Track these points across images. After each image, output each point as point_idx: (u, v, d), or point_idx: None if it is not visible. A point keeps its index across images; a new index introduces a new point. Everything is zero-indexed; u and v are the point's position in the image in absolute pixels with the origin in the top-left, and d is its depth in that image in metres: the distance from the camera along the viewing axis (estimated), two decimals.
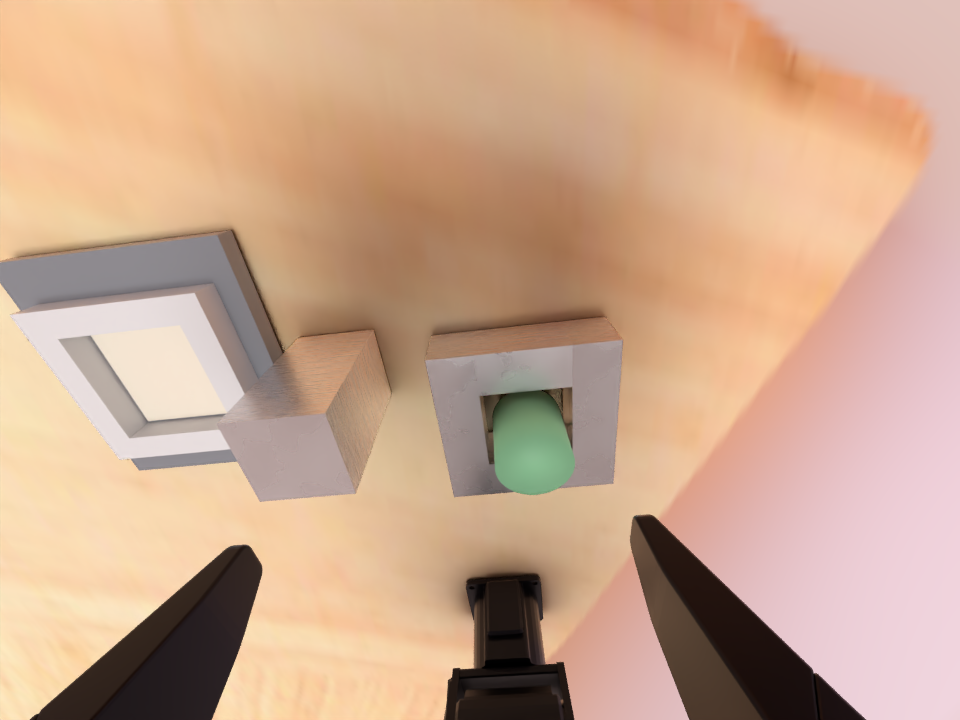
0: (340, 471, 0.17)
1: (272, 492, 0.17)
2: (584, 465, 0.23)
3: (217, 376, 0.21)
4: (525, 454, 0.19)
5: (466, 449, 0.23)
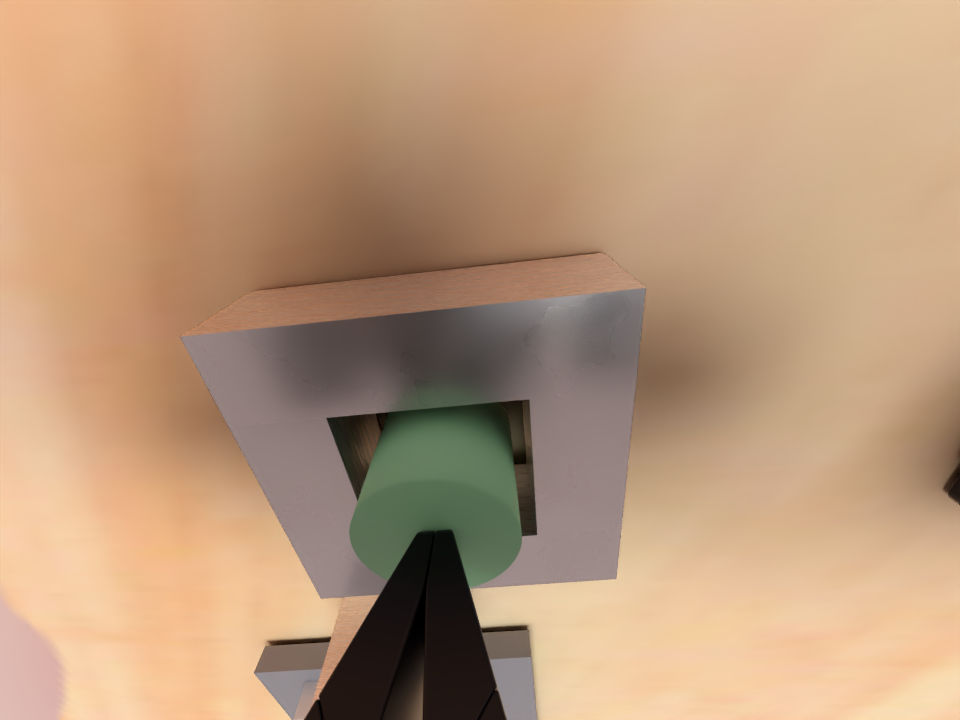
0: None
1: None
2: (562, 371, 0.09)
3: None
4: None
5: None
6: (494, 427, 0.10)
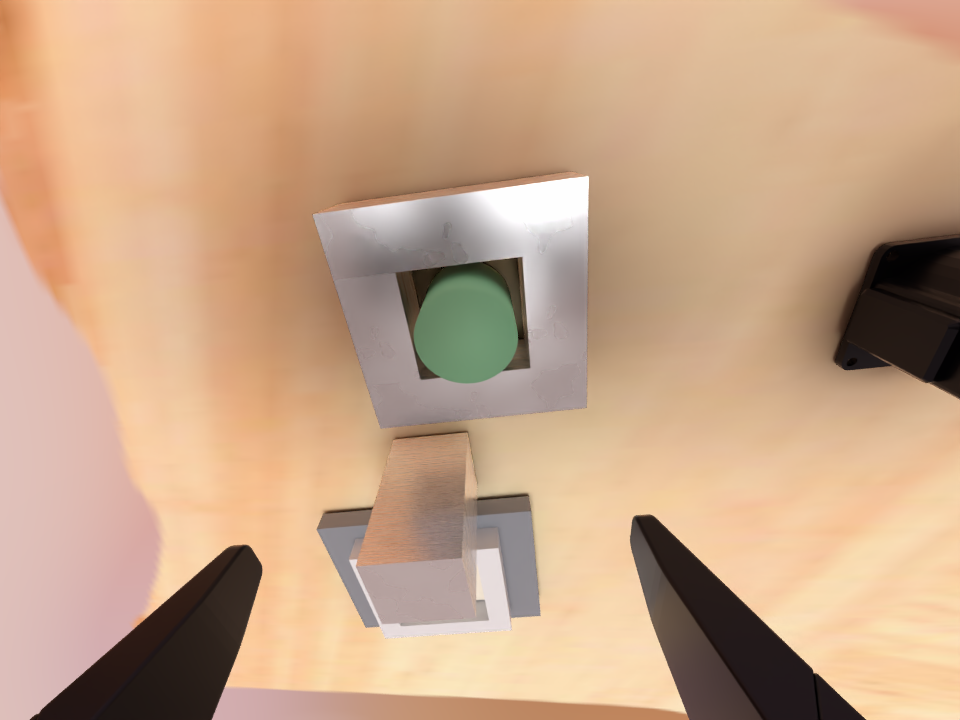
0: (430, 564, 0.16)
1: (462, 609, 0.18)
2: (542, 235, 0.14)
3: None
4: (446, 351, 0.15)
5: (503, 393, 0.18)
6: (500, 284, 0.16)
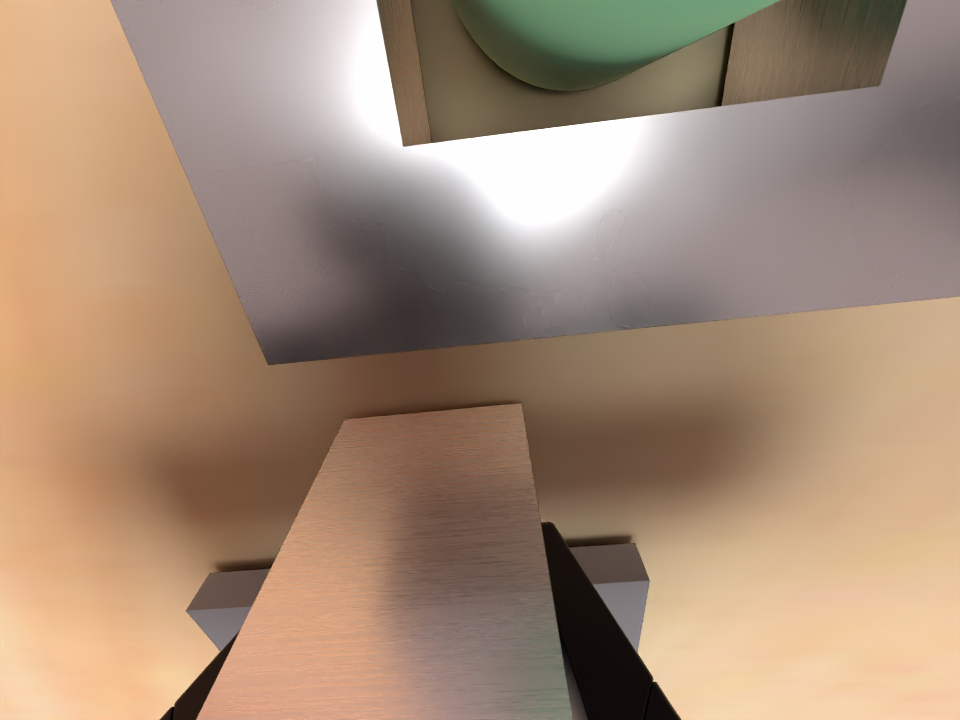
0: None
1: None
2: None
3: None
4: None
5: (726, 222, 0.05)
6: None
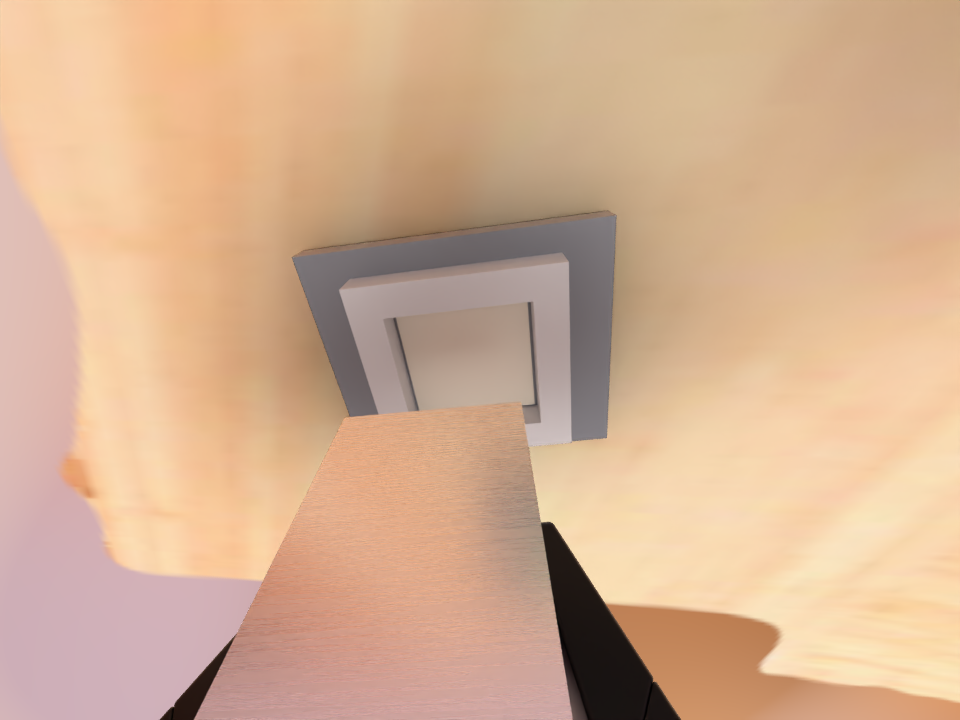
0: None
1: None
2: None
3: (451, 298, 0.16)
4: None
5: None
6: None
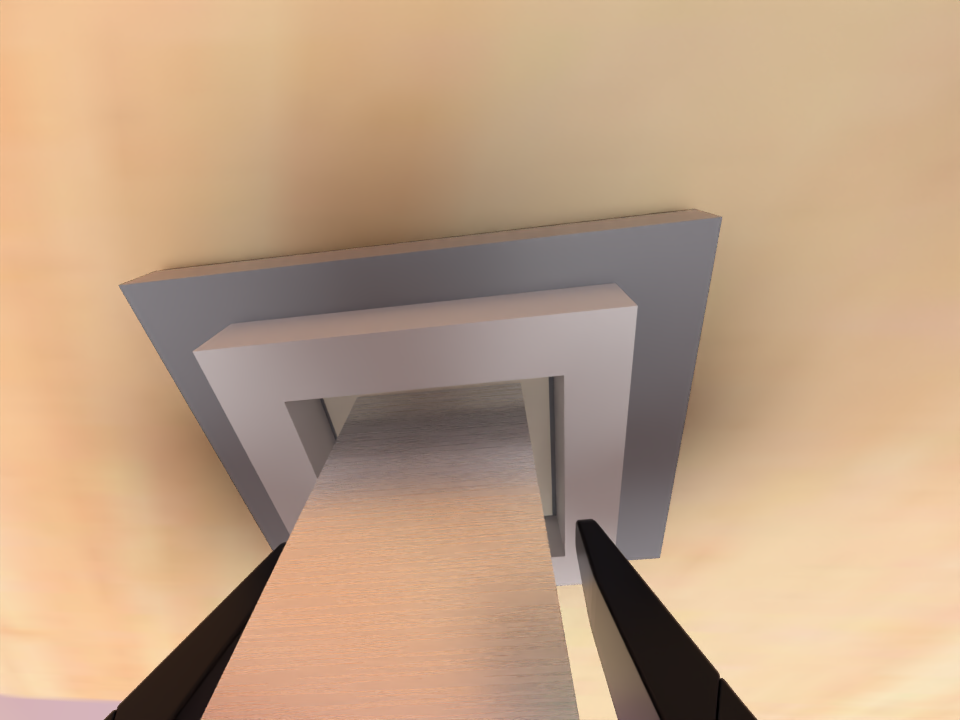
0: None
1: None
2: None
3: (409, 368, 0.09)
4: None
5: None
6: None
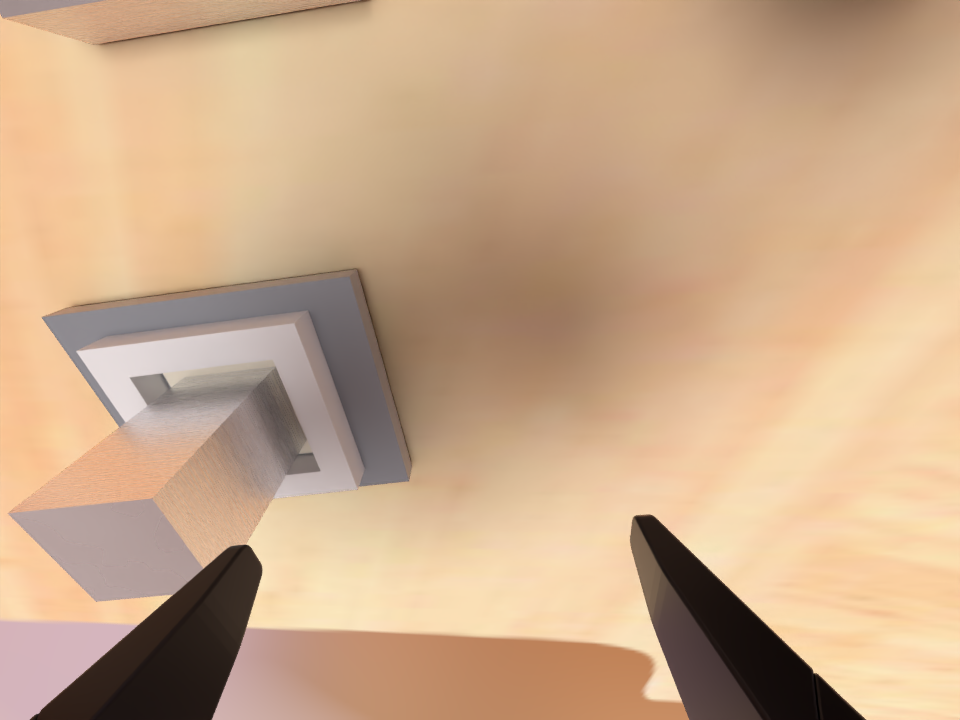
0: (113, 509, 0.12)
1: None
2: None
3: (190, 358, 0.17)
4: None
5: None
6: None
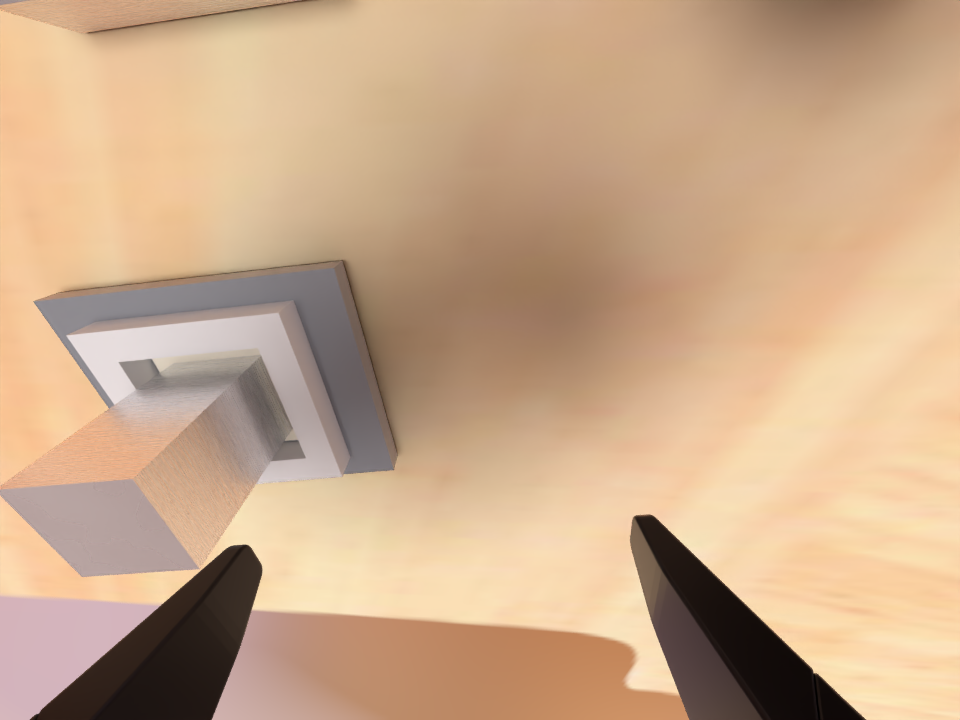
0: (95, 489, 0.12)
1: (175, 556, 0.14)
2: None
3: (177, 344, 0.17)
4: None
5: None
6: None
